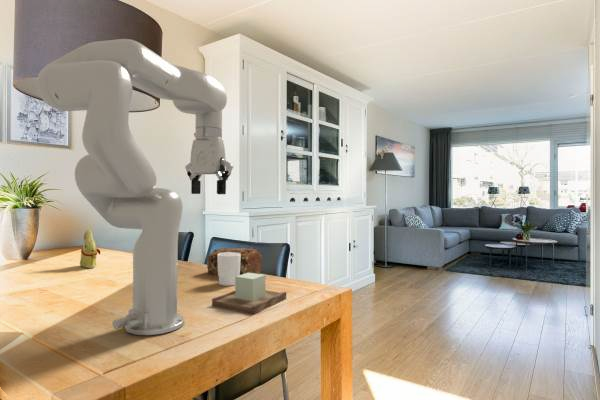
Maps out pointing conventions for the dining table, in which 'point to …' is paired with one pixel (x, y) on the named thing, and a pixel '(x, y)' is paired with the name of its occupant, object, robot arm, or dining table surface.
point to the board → (248, 302)
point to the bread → (249, 260)
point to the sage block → (250, 286)
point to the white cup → (228, 267)
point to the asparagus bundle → (88, 251)
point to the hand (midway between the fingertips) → (208, 194)
